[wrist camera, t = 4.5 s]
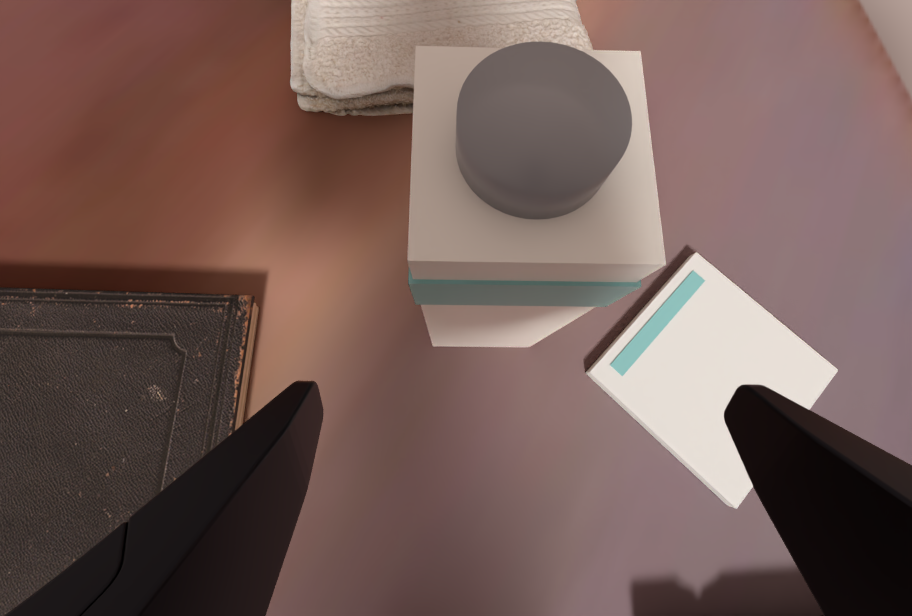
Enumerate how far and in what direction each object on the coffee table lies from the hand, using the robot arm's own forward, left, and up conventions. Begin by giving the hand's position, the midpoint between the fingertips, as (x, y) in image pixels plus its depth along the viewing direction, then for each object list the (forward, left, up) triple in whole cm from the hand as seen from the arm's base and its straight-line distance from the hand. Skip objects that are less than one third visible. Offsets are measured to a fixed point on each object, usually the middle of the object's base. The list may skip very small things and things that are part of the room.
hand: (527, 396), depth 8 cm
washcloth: (+14, +17, -12) cm, 26 cm away
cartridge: (+4, +4, -11) cm, 13 cm away
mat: (+9, -7, -11) cm, 16 cm away
